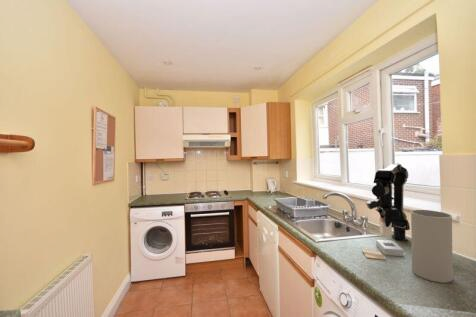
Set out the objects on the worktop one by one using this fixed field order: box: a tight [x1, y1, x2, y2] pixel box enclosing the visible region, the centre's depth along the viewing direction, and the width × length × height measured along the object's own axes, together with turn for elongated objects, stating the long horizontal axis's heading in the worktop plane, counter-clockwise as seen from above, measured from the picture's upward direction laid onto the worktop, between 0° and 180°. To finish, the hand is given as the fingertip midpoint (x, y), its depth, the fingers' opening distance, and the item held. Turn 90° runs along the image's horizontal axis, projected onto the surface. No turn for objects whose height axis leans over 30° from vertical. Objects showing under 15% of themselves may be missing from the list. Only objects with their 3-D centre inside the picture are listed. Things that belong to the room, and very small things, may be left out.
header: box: [375, 239, 404, 257], centre depth 116 cm, size 12×8×3 cm, turn 166°
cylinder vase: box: [410, 209, 454, 284], centre depth 91 cm, size 12×12×25 cm
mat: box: [361, 250, 387, 261], centre depth 110 cm, size 8×8×1 cm
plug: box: [379, 217, 393, 237], centre depth 114 cm, size 4×4×8 cm
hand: (385, 225), depth 114 cm, fingers closed on plug, 4 cm apart
